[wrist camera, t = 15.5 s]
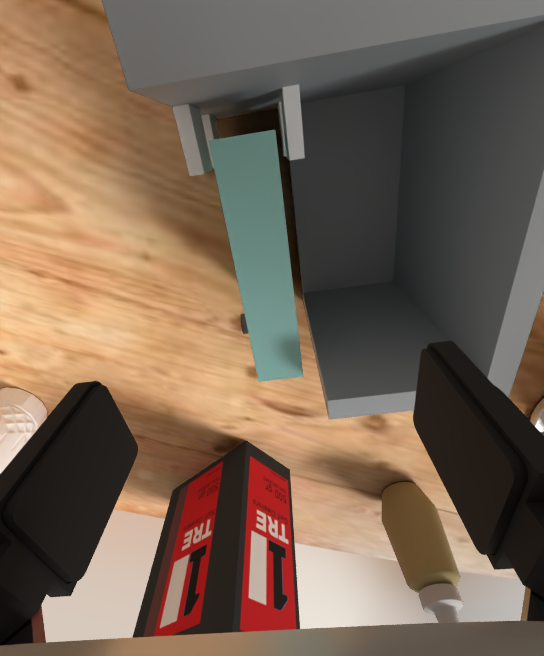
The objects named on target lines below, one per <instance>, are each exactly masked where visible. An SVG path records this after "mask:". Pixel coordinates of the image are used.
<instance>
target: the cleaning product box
mask: <svg viewBox="0 0 544 656" xmlns="http://www.w3.org/2000/svg"><path fill="white" fill-rule="evenodd" d="M295 561H296V560H295V545H294V529H293V514H292V499H291V483H290V470H289V469H288V468H286V467H285V466H283V465H282V464H280V463H279V462H277V461H276V460H275V459H273V458H272V457H270V456H269V455H267V454H266V453H264V452H263V451H261V450H260V449H258V448H257V447H255V446H254V445H252V444H251V443H249V442H248V441H245V442H244V443H242V444H241V445H240V446H238V447H237V448H235V449H234V450H232V451H231V452H229V453H228V454H226V455H225V456H223V457H222V458H220V459H219V460H217V461H216V462H214V463H213V464H211V465H210V466H209V467H207V468H206V469H204V470H203V471H201V472H200V473H198V474H197V475H195V476H194V477H192V478H191V479H189V480H188V481H186V482H185V483H183V484H182V485H180V486H179V487H178V488H176V489H175V490H173V492H172V496H171V500H170V503H169V507H168V511H167V514H166V518H165V521H164V525H163V529H162V532H161V536H160V540H159V543H158V547H157V551H156V554H155V558H154V562H153V565H152V569H151V572H150V576H149V580H148V583H147V587H146V591H145V594H144V598H143V601H142V605H141V609H140V612H139V616H138V620H137V623H136V627H135V631H134V634H133V638H136V637H155V636H175V635H194V634H213V633H233V632H253V631H273V630H293V629H300V622H299V607H298V591H297V577H296V562H295Z"/></svg>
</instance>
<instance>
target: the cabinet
mask: <svg viewBox="0 0 544 656" xmlns="http://www.w3.org/2000/svg"><path fill="white" fill-rule="evenodd" d="M102 3H103V6H104V10H105V13H106V16H107V20H108V23H109V26H110V29H111V33H112V36H113V39H114V43H115V46H116V49H117V53H118V56H119V59H120V63H121V66H122V69H123V73H124V76H125V79H126V83H127V86H128V89H129V90H130V91H132V92H135V93H137V94H140V95H143V96H145V97H148V98H151V99H153V100H156V101H158V102H161V103H164V104H166V105H169V106H172V107H173V111H174V115H175V119H176V123H177V127H178V131H179V135H180V139H181V143H182V147H183V151H184V155H185V159H186V163H187V167H188V171H189V175H190V176H197V175H203V174H206V173H208V172H210V171H212V170H213V168H214V165H213V161H212V156H211V151H210V146H209V141H208V140H215V139H220V138H219V133H218V128H217V123H216V119H220V118H225V117H231V116H237V115H243V114H249V113H254V112H260V111H266V110H272V109H278V115H279V124H280V133H281V142H282V152H283V156H287V159H288V160H289V166H290V176H291V186H292V196H293V206H294V216H295V225H296V235H297V245H298V255H299V265H300V275H301V285H302V295H303V303H304V308H305V312H306V317H307V321H308V326H309V330H310V335H311V339H312V344H313V349H314V353H315V358H316V362H317V367H318V371H319V376H320V381H321V385H322V390H323V394H324V399H325V403H326V408H327V412H328V417H329V419H338V418H347V417H357V416H366V415H375V414H384V413H394V412H403V411H412V410H414V406H415V398H416V389H417V381H418V372H419V364H420V356H421V351H422V349H427V346H428V344H429V343H434V342H443V341H453V342H454V343H455V344H456V345H457V346H458V347H459V348H460V349H461V350H462V351H463V352H464V353H465V355H466V356H467V357H468V358H469V359H470V360H471V361H472V362H473V363H474V364H475V365H476V366H477V368H478V369H479V370H480V371H481V372H482V373H483V374H484V375H485V376H486V377H487V378H488V379H489V380H490V382H491V383H492V384H493V385H494V386H497V387H498V388H499V389H500V390H501V391H502V392H503V393H504V394H505V395H506V396H507V397H508V398H509V395H510V392H511V389H512V386H513V383H514V380H515V377H516V374H517V371H518V368H519V365H520V362H521V359H522V356H523V353H524V349H525V346H526V343H527V340H528V337H529V334H530V331H531V328H532V325H533V322H534V319H535V316H536V313H537V310H538V307H539V304H540V301H541V298H542V295H543V292H544V0H102Z"/></svg>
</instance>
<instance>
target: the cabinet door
mask: <svg viewBox="0 0 544 656" xmlns="http://www.w3.org/2000/svg"><path fill="white" fill-rule="evenodd" d="M208 141H209V146H210V151H211V156H212V161H213V165H214V170H215V175H216V180H217V184H218V189H219V194H220V199H221V204H222V208H223V213H224V218H225V223H226V228H227V232H228V237H229V242H230V247H231V251H232V256H233V261H234V266H235V271H236V275H237V280H238V285H239V290H240V294H241V299H242V304H243V309H244V314H241V327H242V331H243V334H247V333H249V337H250V342H251V347H252V352H253V357H254V361H255V366H256V371H257V376H258V380H259V382H260V381H269V380H278V379H286V378H295V377H303V369H302V361H301V352H300V343H299V334H298V325H297V316H296V308H295V299H294V290H293V281H292V272H291V264H290V255H289V246H288V237H287V228H286V220H285V211H284V202H283V193H282V184H281V176H280V167H279V158H278V149H277V140H276V131H275V130H269V131H263V132H257V133H251V134H245V135H239V136H233V137H227V138H221V139H215V140H208Z"/></svg>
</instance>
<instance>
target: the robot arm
mask: <svg viewBox="0 0 544 656" xmlns="http://www.w3.org/2000/svg"><path fill="white" fill-rule="evenodd" d="M413 421H414V425H415V428H416V431H417V433H418V435H419V437H420V439H421V440H422V442H423V444H424V446H425V448H426V450H427V452H428V454H429V456H430V458H431V460H432V462H433V464H434V466H435V468H436V470H437V472H438V474H439V476H440V478H441V480H442V482H443V484H444V486H445V488H446V490H447V492H448V494H449V496H450V498H451V500H452V502H453V504H454V506H455V508H456V510H457V512H458V514H459V516H460V518H461V520H462V522H463V524H464V526H465V528H466V529H467V531H468V533H469V535H470V537H471V539H472V541H473V543H474V545H475V547H476V549H477V550H478V551H479V553H481V554H483V555H485V554H487V556H488V558H489V560H490V562H491V564H492V566H493V568H494V570H495V569H511V568H514V570H515V572H516V573H517V575H518V577H519V579H520V580H521V582H522V584H523V585H524V586H526V589H525V595H524V602H523V608H522V616H521V621H503V622H502V621H498V622H463V623H462V622H458V623H426V624H425V623H424V624H403V625H380V626H358V627H338V628H337V627H336V628H314V629H293V630H273V631H253V632H233V633H213V634H194V635H175V636H155V637H136V638H119V639H101V640H83V641H66V642H48V643H46V640H45V632H44V623H43V615H42V607H41V604H42V602H43V600H44V598H45V596H46V594H47V595H49V596H50V597H60V596H71V594H72V592H73V590H74V587H75V585H76V583H77V581H79V580H80V579H81V578H82V577H83V576H84V574H85V572H86V570H87V568H88V566H89V563H90V561H91V559H92V557H93V554H94V552H95V550H96V548H97V545H98V543H99V541H100V538H101V536H102V534H103V532H104V529H105V527H106V525H107V523H108V520H109V518H110V516H111V513H112V511H113V509H114V507H115V504H116V502H117V500H118V497H119V495H120V493H121V491H122V488H123V486H124V484H125V482H126V479H127V477H128V475H129V472H130V470H131V468H132V466H133V463H134V461H135V459H136V456H137V452H138V446H137V443H136V441H135V439H134V437H133V436H132V434H131V432H130V430H129V428H128V426H127V424H126V422H125V420H124V419H123V417H122V415H121V413H120V411H119V409H118V407H117V405H116V404H115V402H114V400H113V398H112V396H111V394H110V392H109V390H108V389H107V387H106V386H104V385H102V384H101V383H100V382H97V381H93V382H84V383H78V384H75V385H74V386H73V387H72V388H71V390H70V391H69V392H68V393H67V394H66V396H65V397H64V398H63V399H62V400H61V402H60V403H59V404H58V405H57V406H56V408H55V409H54V410H53V411H52V412H51V414H50V415H49V416H48V417H47V419H46V420H45V421H44V422H43V423H42V425H41V426H40V427H39V428H38V429H37V431H36V432H35V433H34V434H33V435H32V437H31V438H30V439H29V440H28V441H27V443H26V444H25V445H24V446H23V447H22V449H21V450H20V451H19V452H18V453H17V455H16V456H15V457H14V458H13V459H12V461H11V462H10V463H9V464H8V465H7V467H6V468H5V469H4V470H3V472H2V473H1V474H0V656H544V398H543V399H542V400H541V401H540V402H539V404H538V405H537V406H536V407H535V409H534V411H533V413H532V415H531V418H530V421H529V419H528V418H527V417H526V416H525V415H524V414H523V413H522V412H521V411H520V410H519V409H518V408H517V407H516V406H515V405H514V403H513V402H512V401H511V400H510V399H509V398H508V397H507V396H506V395H505V394H504V393H503V392H502V391H501V390H500V389H499V388H498V387H497V386H494V385H493V384H492V383H491V382H490V380H489V379H488V378H487V377H486V376H485V375H484V374H483V373H482V372H481V371H480V370H479V369H478V368H477V366H476V365H475V364H474V363H473V362H472V361H471V360H470V359H469V358H468V357H467V356H466V355H465V353H464V352H463V351H462V350H461V349H460V348H459V347H458V346H457V345H456V344H455V343H454V342H453V341H443V342H434V343H429V344H428V346H427V349H422V351H421V356H420V364H419V372H418V381H417V389H416V398H415V406H414V414H413Z"/></svg>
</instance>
